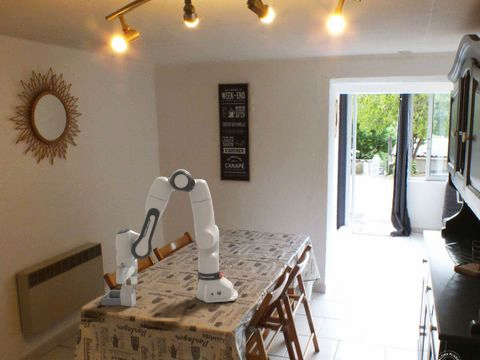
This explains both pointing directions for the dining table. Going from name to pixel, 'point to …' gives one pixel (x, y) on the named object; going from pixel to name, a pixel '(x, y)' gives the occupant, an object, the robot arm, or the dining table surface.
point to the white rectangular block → (127, 296)
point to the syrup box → (134, 275)
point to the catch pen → (111, 301)
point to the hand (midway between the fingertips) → (126, 286)
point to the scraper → (128, 282)
